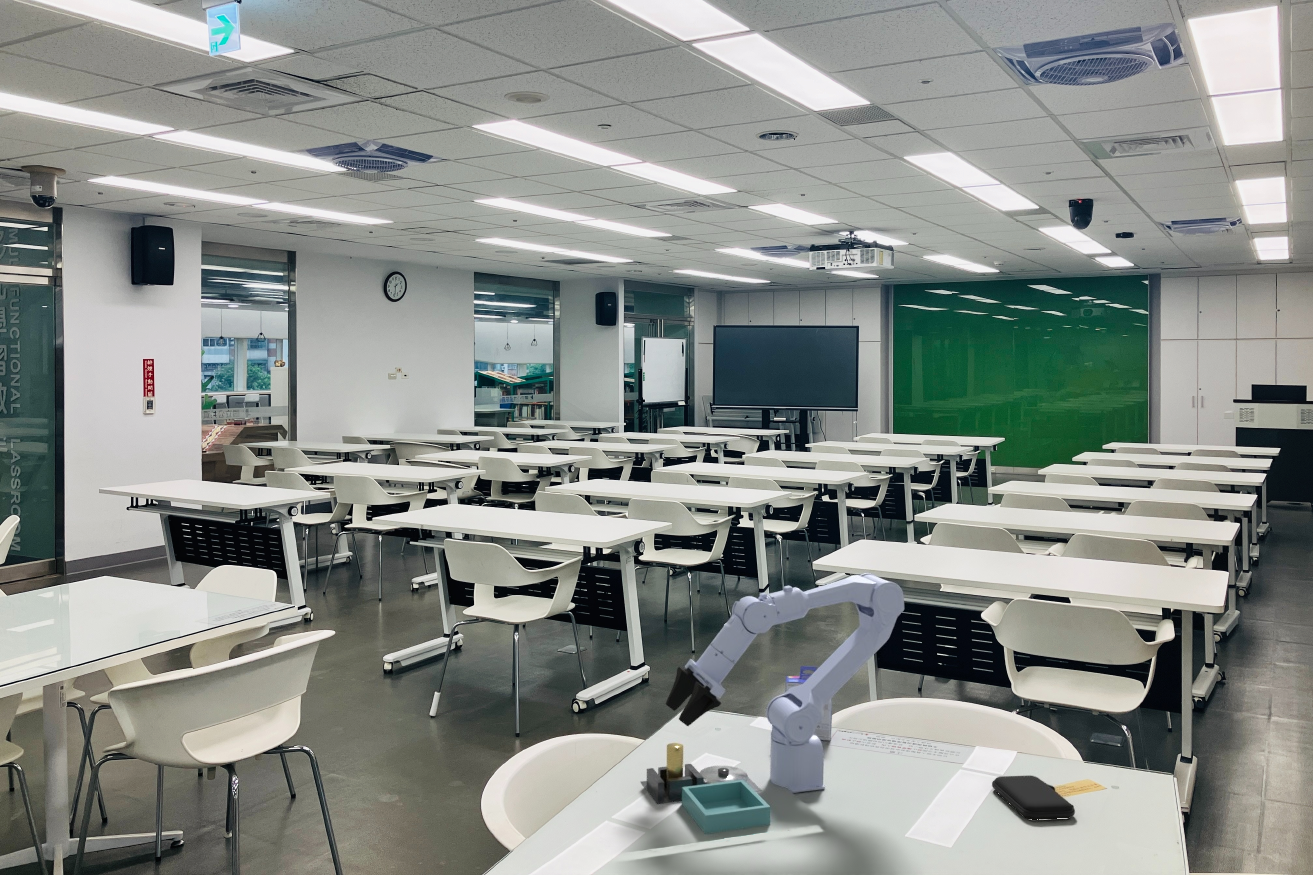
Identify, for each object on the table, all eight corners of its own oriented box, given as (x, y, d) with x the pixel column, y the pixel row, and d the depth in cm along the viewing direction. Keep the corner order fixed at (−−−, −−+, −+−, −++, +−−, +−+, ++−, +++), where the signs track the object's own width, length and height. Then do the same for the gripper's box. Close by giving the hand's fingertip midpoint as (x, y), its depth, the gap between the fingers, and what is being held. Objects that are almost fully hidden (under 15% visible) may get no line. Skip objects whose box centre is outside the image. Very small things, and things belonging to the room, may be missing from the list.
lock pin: (679, 784, 176) (680, 742, 176) (685, 791, 173) (685, 747, 173) (664, 786, 175) (664, 743, 175) (669, 793, 172) (669, 749, 172)
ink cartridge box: (830, 732, 207) (832, 665, 206) (832, 741, 201) (833, 673, 201) (784, 729, 208) (785, 663, 207) (784, 738, 203) (785, 671, 202)
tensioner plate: (740, 774, 184) (740, 753, 184) (761, 795, 174) (761, 774, 174) (640, 786, 178) (640, 765, 177) (656, 809, 168) (657, 787, 168)
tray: (742, 801, 172) (743, 779, 172) (770, 829, 161) (770, 806, 161) (681, 809, 168) (682, 787, 168) (705, 839, 157) (705, 815, 157)
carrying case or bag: (1085, 822, 165) (1042, 787, 180) (1086, 805, 165) (1042, 771, 180) (1026, 825, 164) (987, 789, 179) (1027, 807, 164) (988, 773, 179)
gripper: (693, 630, 180) (648, 689, 179) (721, 653, 166) (672, 717, 165) (720, 651, 182) (675, 709, 181) (749, 676, 168) (702, 739, 167)
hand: (676, 714), depth 173 cm, fingers open, 7 cm apart
